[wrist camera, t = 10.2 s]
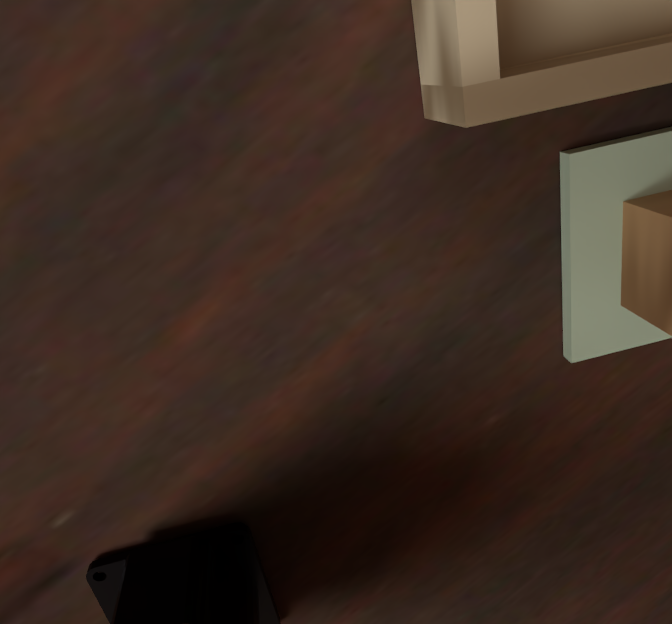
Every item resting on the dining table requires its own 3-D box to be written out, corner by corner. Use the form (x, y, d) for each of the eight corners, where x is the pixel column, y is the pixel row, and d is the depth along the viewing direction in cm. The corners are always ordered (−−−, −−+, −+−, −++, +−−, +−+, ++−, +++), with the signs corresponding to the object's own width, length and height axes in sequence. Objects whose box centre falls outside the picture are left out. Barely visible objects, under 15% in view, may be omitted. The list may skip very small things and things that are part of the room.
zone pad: (748, 309, 23) (760, 314, 22) (563, 356, 22) (571, 363, 21) (776, 103, 19) (792, 103, 19) (559, 151, 19) (569, 154, 18)
